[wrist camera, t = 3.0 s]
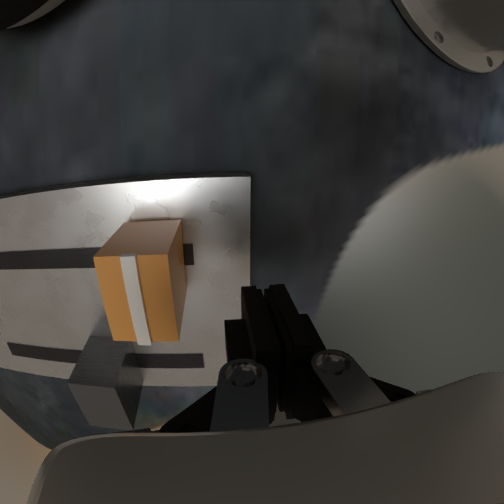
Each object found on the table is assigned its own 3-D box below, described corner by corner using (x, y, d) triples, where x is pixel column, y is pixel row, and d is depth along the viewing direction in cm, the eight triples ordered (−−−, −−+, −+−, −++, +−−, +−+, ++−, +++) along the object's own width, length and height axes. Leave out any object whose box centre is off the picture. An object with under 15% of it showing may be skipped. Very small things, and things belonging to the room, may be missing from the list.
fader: (180, 218, 15) (166, 255, 11) (186, 290, 17) (178, 345, 12) (124, 221, 15) (91, 257, 10) (135, 292, 16) (112, 344, 12)
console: (246, 171, 17) (263, 195, 11) (247, 365, 22) (257, 434, 16) (-73, 211, 14) (-120, 237, 8) (-29, 346, 19) (-58, 386, 13)
